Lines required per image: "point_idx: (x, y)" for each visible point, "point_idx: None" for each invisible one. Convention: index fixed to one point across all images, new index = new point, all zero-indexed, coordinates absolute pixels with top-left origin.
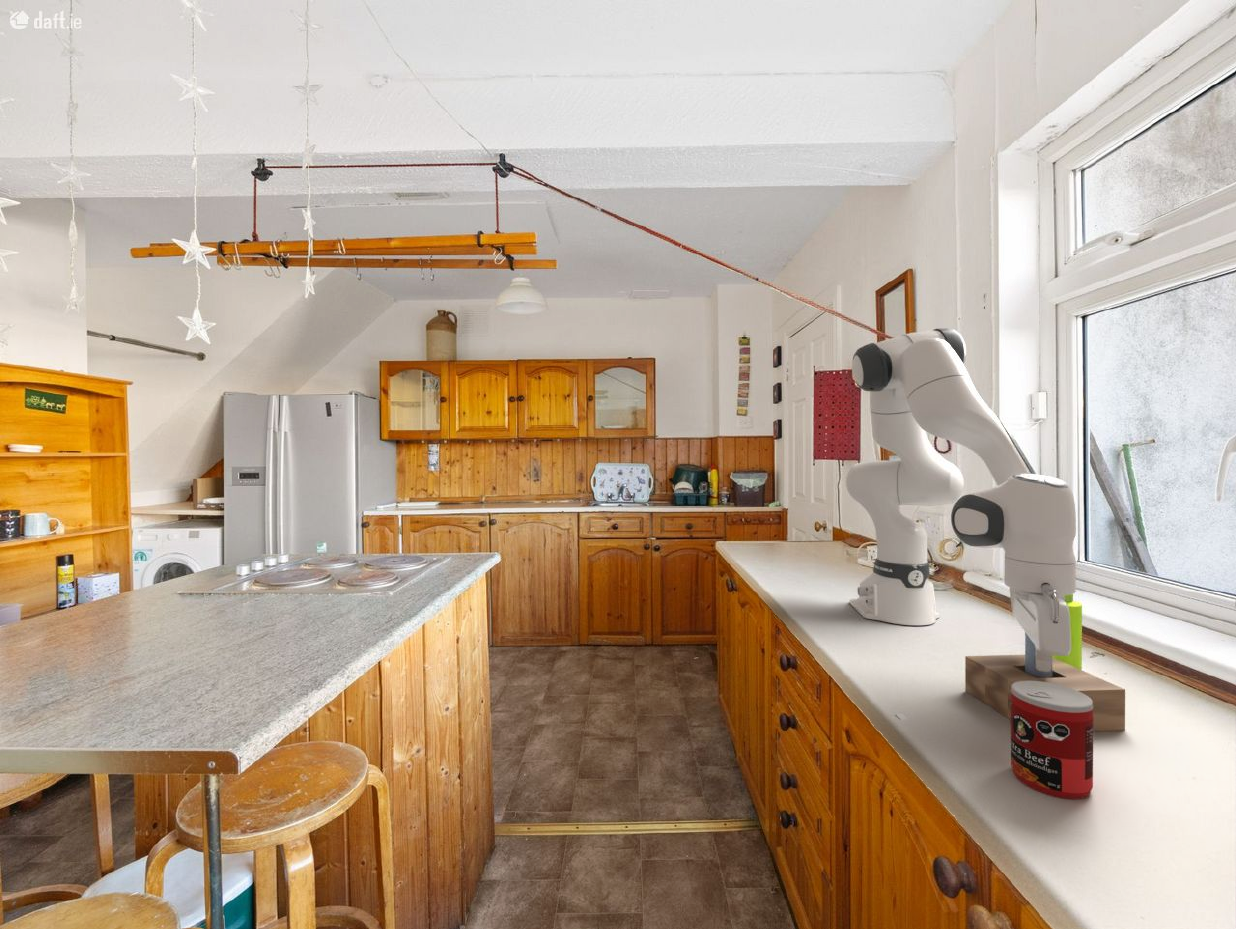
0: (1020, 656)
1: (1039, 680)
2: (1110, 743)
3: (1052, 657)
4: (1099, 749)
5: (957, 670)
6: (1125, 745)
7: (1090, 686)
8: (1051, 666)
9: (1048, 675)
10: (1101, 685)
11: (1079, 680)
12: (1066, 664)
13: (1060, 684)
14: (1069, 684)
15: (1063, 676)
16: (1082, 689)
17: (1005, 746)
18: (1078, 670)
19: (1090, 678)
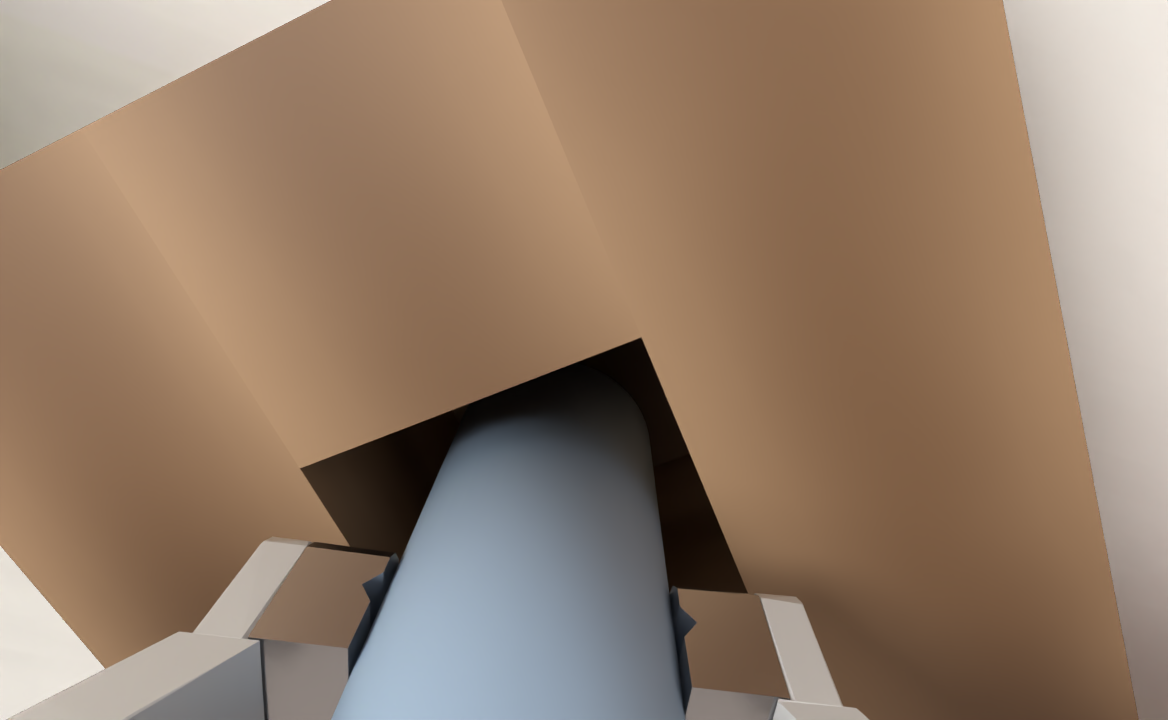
0: (80, 573)
1: (829, 631)
2: (1033, 116)
3: (582, 594)
4: (1131, 233)
5: (63, 660)
6: (1053, 16)
7: (905, 181)
8: (625, 537)
9: (654, 511)
10: (839, 10)
11: (715, 231)
12: (93, 151)
13: (910, 489)
14: (889, 399)
15: (594, 351)
16: (1026, 320)
17: (1133, 690)
18: (297, 84)
19: (586, 47)
